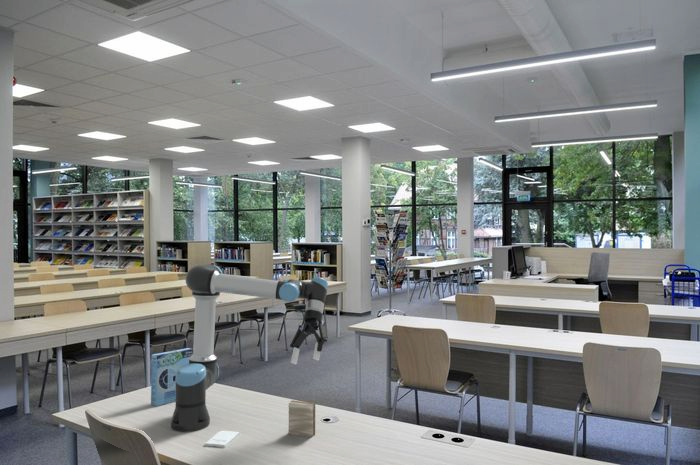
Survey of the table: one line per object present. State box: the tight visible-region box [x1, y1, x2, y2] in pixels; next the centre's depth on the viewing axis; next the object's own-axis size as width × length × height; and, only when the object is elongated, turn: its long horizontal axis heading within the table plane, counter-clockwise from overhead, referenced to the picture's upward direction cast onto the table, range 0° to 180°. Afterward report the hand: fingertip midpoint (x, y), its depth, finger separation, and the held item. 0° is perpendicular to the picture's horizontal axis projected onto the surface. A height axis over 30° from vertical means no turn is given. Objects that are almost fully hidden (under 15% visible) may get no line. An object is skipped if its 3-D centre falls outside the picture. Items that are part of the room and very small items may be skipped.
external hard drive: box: [203, 430, 240, 449], centre depth 186 cm, size 2×8×12 cm
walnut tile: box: [288, 399, 316, 438], centre depth 192 cm, size 3×10×12 cm, turn 70°
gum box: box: [150, 347, 193, 407], centre depth 233 cm, size 20×5×23 cm, turn 141°
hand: (304, 361), depth 197 cm, fingers open, 13 cm apart
